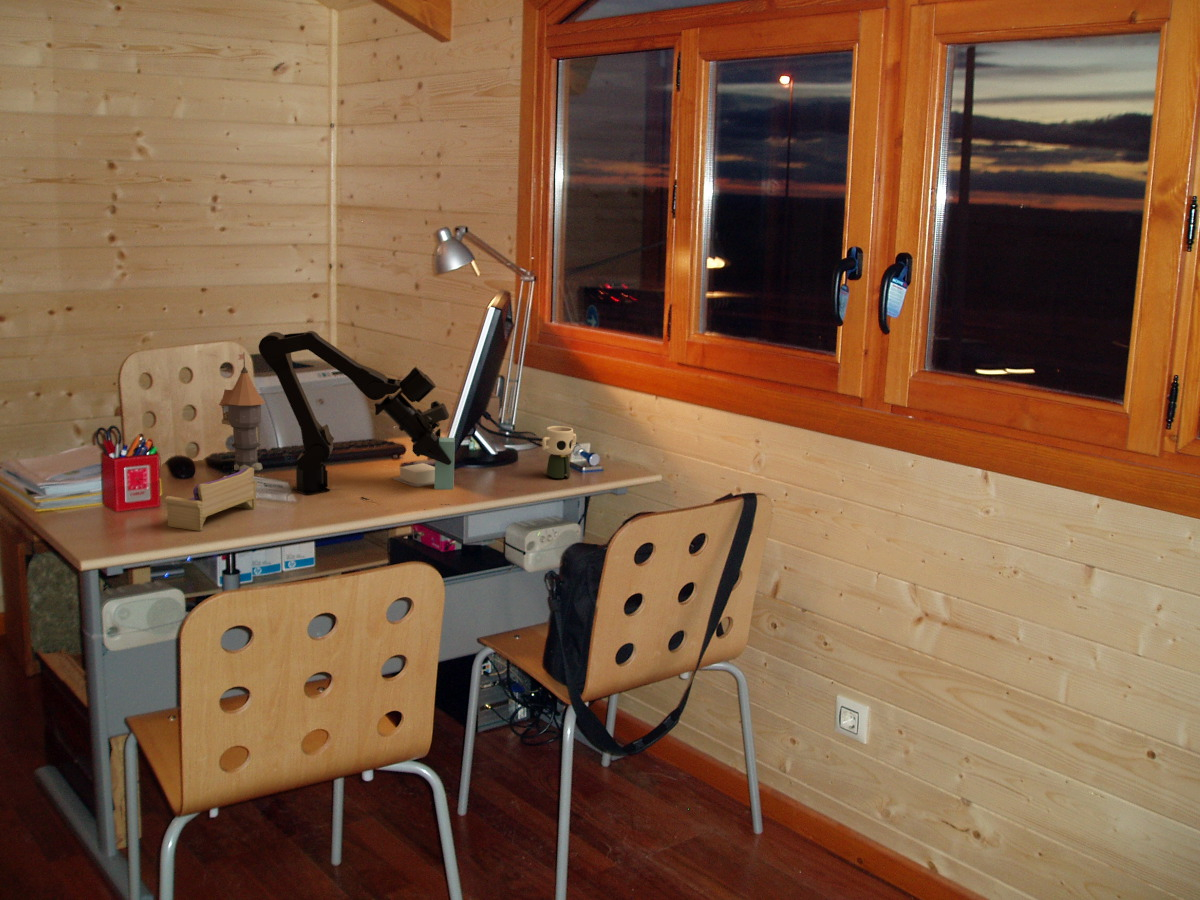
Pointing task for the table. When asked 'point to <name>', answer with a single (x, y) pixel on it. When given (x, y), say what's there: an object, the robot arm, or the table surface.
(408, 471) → the cream slab brick
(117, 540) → the table surface
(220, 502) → the toy sofa
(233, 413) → the model tower
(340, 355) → the robot arm
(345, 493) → the table surface
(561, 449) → the character mug
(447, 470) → the teal column brick
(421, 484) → the grey baseplate
